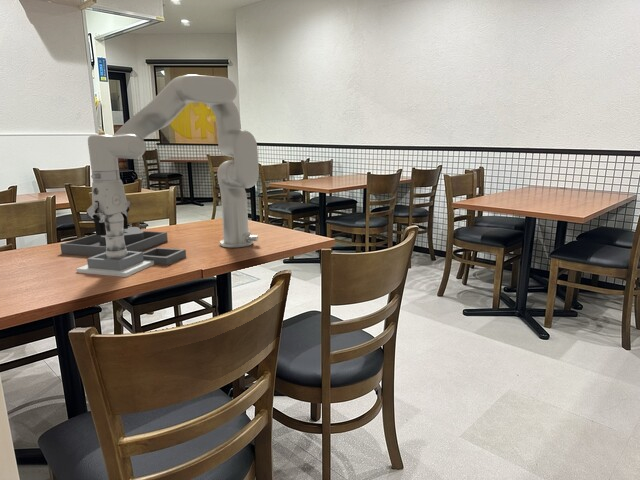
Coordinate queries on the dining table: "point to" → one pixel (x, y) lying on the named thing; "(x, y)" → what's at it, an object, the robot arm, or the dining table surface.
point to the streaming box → (127, 236)
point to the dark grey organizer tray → (93, 248)
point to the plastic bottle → (115, 237)
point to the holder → (170, 254)
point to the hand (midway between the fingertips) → (112, 231)
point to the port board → (116, 265)
